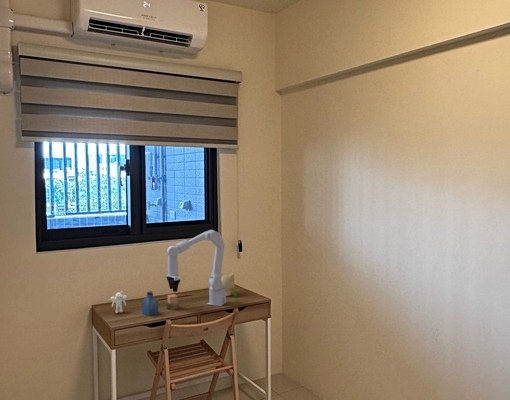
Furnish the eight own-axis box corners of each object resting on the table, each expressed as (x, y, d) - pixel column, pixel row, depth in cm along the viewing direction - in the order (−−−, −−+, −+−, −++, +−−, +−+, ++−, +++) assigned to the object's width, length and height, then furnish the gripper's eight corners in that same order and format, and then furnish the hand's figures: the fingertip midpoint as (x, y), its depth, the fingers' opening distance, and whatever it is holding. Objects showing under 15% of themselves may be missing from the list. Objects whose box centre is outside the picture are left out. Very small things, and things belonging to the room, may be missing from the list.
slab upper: (178, 305, 274) (178, 301, 274) (174, 307, 269) (174, 304, 269) (170, 304, 276) (170, 301, 276) (166, 306, 271) (166, 303, 271)
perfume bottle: (151, 311, 267) (150, 290, 267) (158, 313, 263) (157, 291, 263) (142, 313, 262) (141, 292, 262) (149, 315, 259) (148, 294, 258)
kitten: (239, 294, 304) (239, 271, 303) (237, 298, 294) (236, 274, 293) (217, 293, 306) (217, 270, 305) (213, 297, 296) (213, 273, 295)
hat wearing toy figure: (126, 310, 269) (125, 289, 269) (127, 311, 266) (127, 290, 265) (110, 312, 265) (109, 291, 264) (111, 314, 262) (111, 292, 261)
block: (175, 301, 275) (175, 294, 275) (177, 302, 271) (177, 296, 271) (167, 302, 273) (167, 295, 273) (169, 303, 269) (169, 297, 269)
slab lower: (178, 308, 274) (178, 305, 274) (174, 310, 269) (174, 307, 269) (171, 307, 276) (171, 304, 276) (166, 310, 271) (166, 306, 271)
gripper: (163, 265, 277) (163, 288, 278) (169, 269, 264) (169, 293, 265) (174, 264, 280) (175, 286, 281) (181, 268, 267) (181, 292, 268)
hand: (173, 290), depth 273 cm, fingers open, 7 cm apart
